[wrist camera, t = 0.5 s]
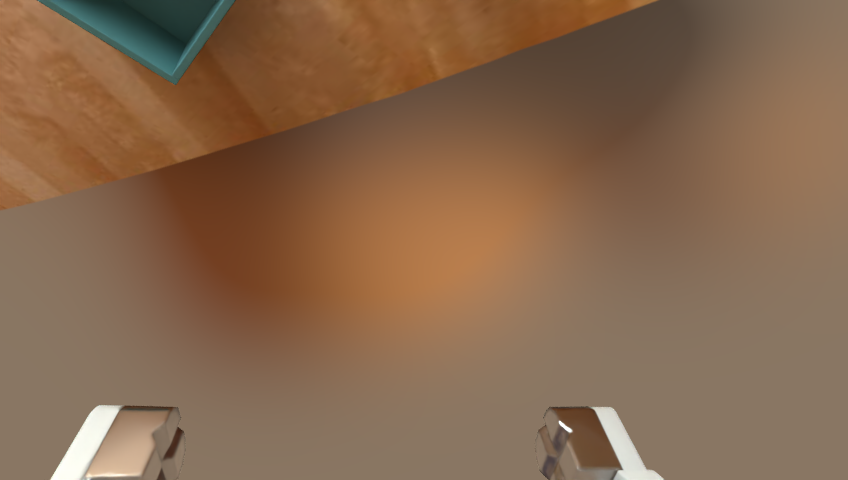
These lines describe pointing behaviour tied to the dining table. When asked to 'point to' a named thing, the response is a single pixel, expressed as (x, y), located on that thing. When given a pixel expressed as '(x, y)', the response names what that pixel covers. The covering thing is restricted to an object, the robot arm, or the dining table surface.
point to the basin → (149, 28)
